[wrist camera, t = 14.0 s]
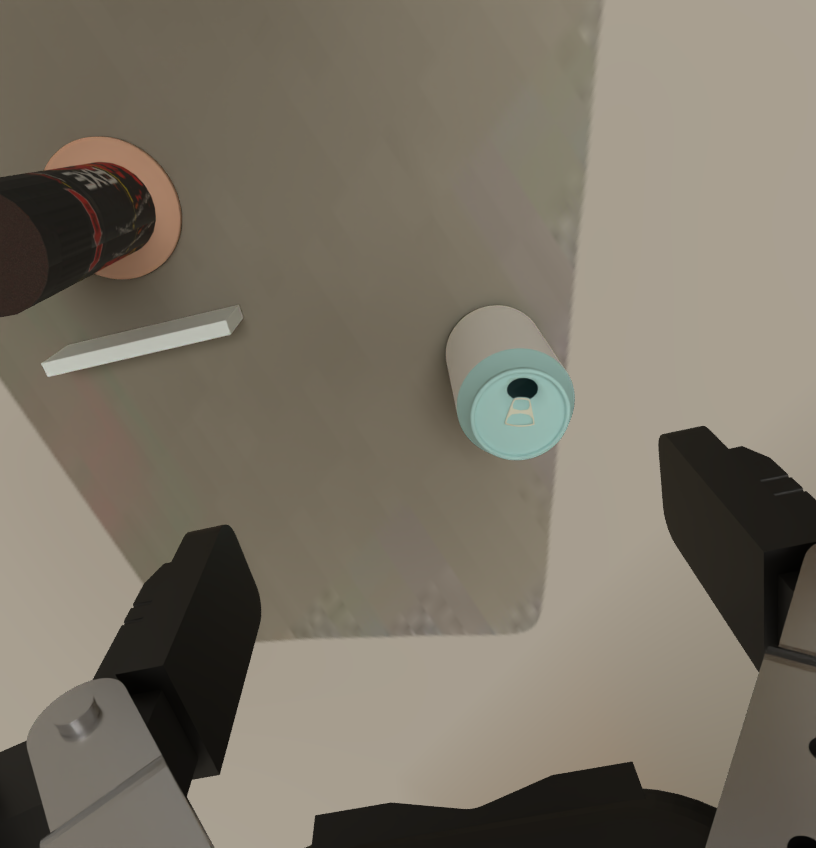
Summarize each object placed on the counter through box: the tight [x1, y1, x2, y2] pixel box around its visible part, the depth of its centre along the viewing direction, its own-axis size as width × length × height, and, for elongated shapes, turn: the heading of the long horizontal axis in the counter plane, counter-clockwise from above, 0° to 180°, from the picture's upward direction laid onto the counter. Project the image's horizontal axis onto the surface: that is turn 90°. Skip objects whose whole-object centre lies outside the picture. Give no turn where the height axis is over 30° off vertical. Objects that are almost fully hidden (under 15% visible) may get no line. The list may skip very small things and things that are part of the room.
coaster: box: [44, 136, 182, 279], centre depth 44 cm, size 9×9×1 cm
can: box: [446, 305, 575, 460], centre depth 43 cm, size 7×7×12 cm
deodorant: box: [0, 162, 156, 317], centre depth 37 cm, size 6×6×15 cm
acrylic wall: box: [41, 304, 243, 377], centre depth 46 cm, size 1×13×4 cm, turn 103°
